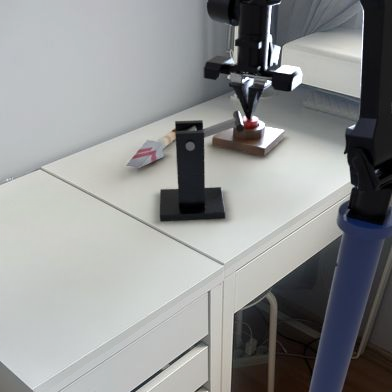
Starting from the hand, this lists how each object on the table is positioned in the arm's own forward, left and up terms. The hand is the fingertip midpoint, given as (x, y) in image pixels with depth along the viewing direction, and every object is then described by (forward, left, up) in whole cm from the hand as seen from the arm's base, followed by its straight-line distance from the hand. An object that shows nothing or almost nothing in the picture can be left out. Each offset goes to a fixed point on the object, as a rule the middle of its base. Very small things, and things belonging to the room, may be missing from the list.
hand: (249, 118), depth 104 cm
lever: (-6, +27, +7) cm, 29 cm away
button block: (0, 0, -5) cm, 5 cm away
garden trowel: (+14, +14, -5) cm, 20 cm away
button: (0, 0, -2) cm, 2 cm away
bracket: (-3, +29, -5) cm, 30 cm away
